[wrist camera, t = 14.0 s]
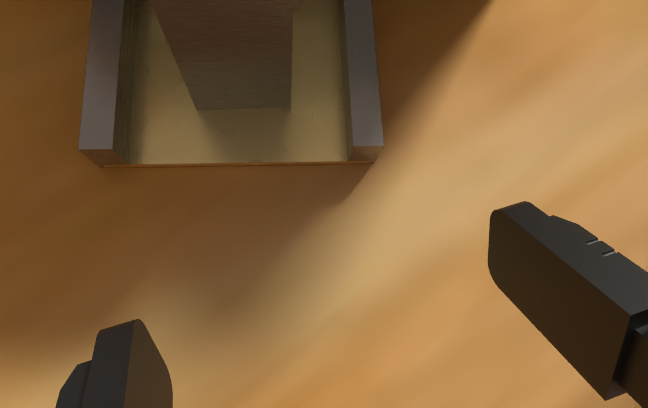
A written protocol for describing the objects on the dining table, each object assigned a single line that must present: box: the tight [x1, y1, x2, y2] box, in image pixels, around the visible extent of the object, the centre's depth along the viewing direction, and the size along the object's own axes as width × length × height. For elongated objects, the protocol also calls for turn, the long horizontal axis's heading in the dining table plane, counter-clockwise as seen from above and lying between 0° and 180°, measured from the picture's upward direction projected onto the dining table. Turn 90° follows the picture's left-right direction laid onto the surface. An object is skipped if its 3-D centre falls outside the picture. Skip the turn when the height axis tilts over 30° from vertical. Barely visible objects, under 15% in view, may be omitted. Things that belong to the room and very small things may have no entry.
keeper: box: [78, 0, 384, 167], centre depth 19 cm, size 11×10×3 cm
